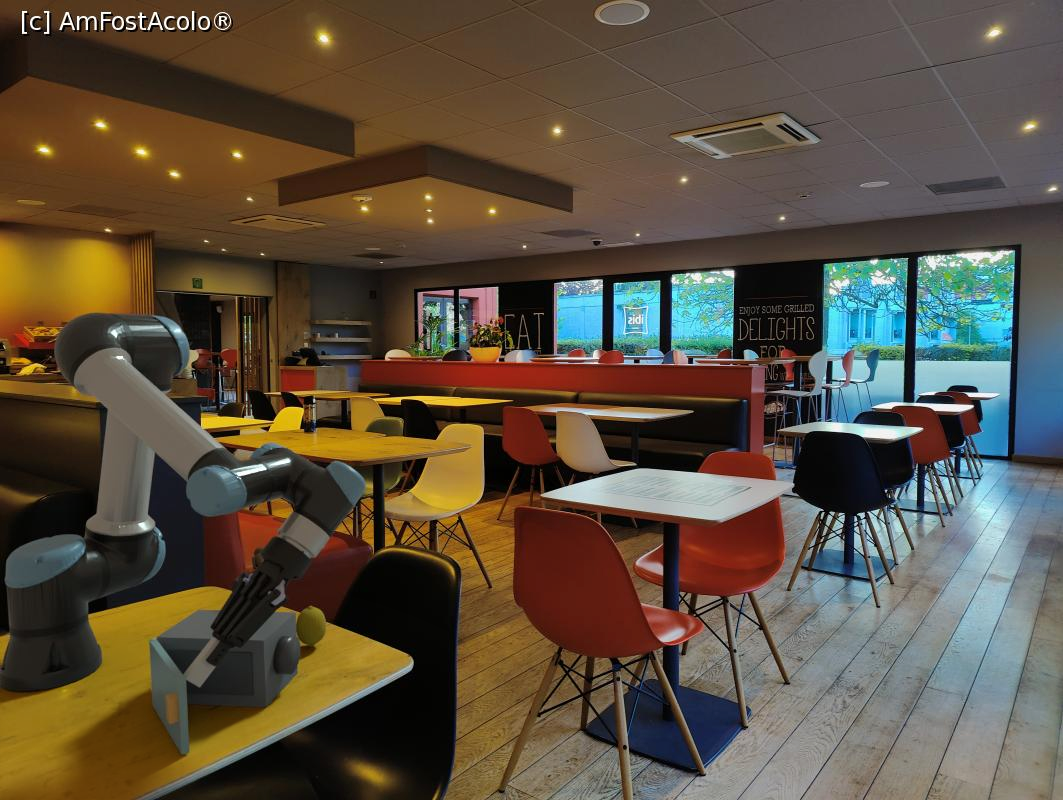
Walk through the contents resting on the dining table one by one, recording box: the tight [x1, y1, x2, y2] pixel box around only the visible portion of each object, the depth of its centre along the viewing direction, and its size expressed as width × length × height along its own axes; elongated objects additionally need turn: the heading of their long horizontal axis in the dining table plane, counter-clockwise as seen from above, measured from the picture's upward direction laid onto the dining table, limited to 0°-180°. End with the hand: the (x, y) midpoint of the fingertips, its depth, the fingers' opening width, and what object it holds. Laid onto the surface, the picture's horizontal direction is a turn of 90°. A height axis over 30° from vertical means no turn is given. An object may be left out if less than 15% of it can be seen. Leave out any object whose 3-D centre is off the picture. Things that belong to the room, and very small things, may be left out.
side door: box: [148, 637, 190, 755], centre depth 106 cm, size 19×2×11 cm, turn 40°
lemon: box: [296, 605, 327, 648], centre depth 136 cm, size 6×6×8 cm
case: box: [156, 609, 301, 708], centre depth 119 cm, size 20×12×11 cm, turn 85°
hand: (191, 681), depth 104 cm, fingers closed
